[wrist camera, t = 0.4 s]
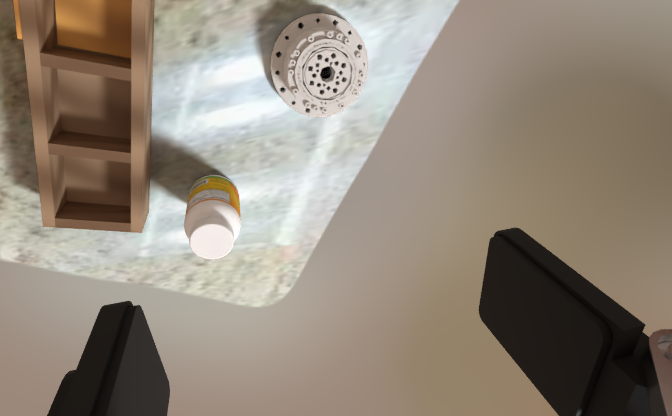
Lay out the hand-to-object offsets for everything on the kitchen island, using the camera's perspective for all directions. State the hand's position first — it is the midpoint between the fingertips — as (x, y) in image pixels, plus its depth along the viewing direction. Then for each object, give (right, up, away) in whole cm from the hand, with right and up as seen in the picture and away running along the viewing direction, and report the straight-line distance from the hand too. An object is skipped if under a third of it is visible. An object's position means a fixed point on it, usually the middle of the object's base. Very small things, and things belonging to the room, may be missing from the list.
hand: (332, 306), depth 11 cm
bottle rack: (-22, +13, +27) cm, 37 cm away
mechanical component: (-2, +17, +31) cm, 35 cm away
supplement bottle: (-14, +4, +35) cm, 37 cm away
